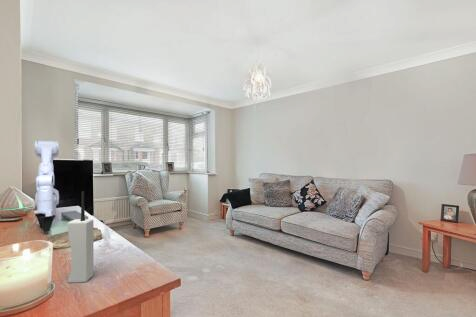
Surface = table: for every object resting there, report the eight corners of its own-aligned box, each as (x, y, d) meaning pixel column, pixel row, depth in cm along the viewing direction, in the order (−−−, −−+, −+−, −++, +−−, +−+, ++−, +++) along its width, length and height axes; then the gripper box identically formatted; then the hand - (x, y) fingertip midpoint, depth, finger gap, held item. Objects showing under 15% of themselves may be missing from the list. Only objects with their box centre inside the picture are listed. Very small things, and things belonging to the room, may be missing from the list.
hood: (61, 224, 121) (61, 212, 121) (75, 222, 125) (75, 210, 125) (73, 233, 107) (73, 219, 107) (88, 230, 112) (88, 216, 112)
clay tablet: (44, 255, 84) (106, 239, 98) (44, 241, 84) (105, 228, 98) (40, 245, 94) (96, 233, 108) (39, 233, 94) (95, 222, 108)
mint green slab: (44, 230, 112) (44, 224, 112) (74, 224, 122) (74, 219, 122) (51, 236, 103) (51, 229, 103) (82, 230, 113) (82, 224, 113)
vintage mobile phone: (75, 276, 68) (75, 190, 68) (93, 275, 68) (93, 190, 68) (67, 283, 64) (67, 192, 64) (86, 282, 64) (86, 192, 64)
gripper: (31, 199, 109) (30, 228, 109) (36, 203, 100) (36, 235, 100) (50, 198, 115) (49, 225, 114) (57, 201, 105) (57, 231, 105)
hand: (45, 229), depth 107 cm, fingers open, 7 cm apart
